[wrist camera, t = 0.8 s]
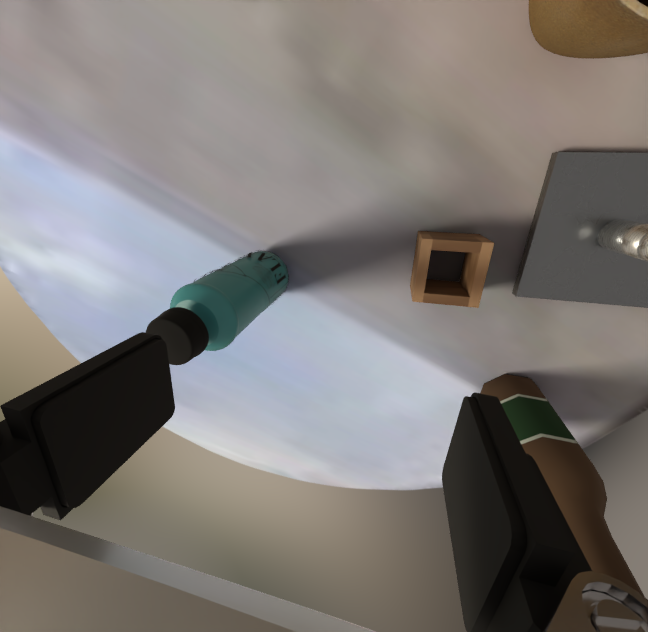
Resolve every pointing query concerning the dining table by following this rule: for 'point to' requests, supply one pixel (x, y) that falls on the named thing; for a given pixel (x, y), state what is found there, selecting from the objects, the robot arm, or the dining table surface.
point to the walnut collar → (471, 275)
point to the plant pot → (590, 27)
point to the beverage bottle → (219, 306)
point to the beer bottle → (563, 471)
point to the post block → (589, 231)
